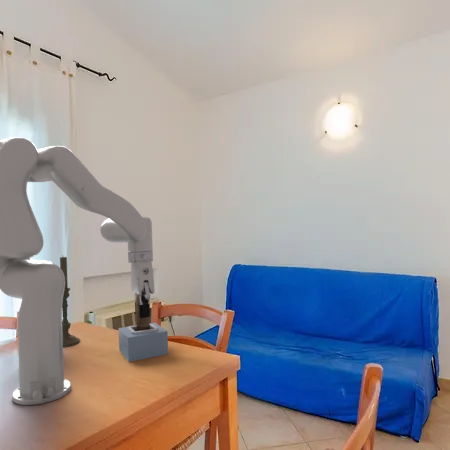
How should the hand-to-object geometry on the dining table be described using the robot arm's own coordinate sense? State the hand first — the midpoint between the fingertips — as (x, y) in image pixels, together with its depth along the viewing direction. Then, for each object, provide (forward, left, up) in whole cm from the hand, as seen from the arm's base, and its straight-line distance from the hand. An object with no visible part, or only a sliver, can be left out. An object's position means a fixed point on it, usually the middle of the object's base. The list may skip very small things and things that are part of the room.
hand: (142, 315), depth 119 cm
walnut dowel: (0, 0, -5) cm, 5 cm away
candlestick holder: (+24, +20, -12) cm, 33 cm away
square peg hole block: (0, 0, -11) cm, 11 cm away
